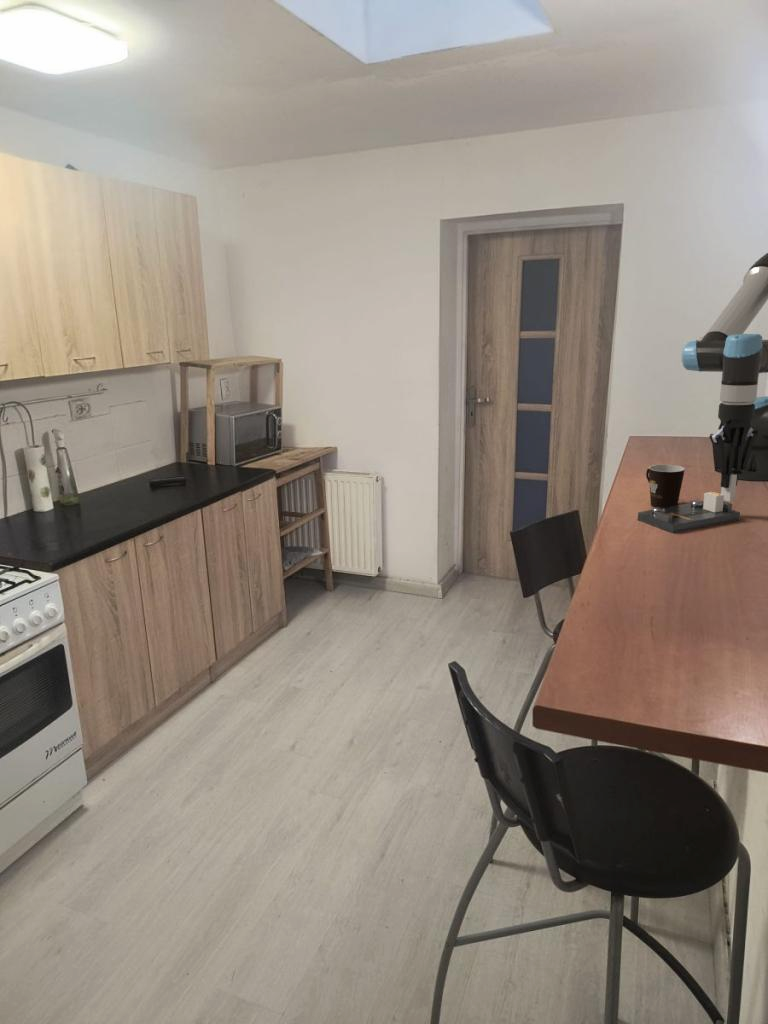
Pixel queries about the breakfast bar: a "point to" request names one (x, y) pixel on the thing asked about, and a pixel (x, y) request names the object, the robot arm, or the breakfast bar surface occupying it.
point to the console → (687, 516)
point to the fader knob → (713, 501)
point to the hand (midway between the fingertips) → (727, 499)
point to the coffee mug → (665, 484)
